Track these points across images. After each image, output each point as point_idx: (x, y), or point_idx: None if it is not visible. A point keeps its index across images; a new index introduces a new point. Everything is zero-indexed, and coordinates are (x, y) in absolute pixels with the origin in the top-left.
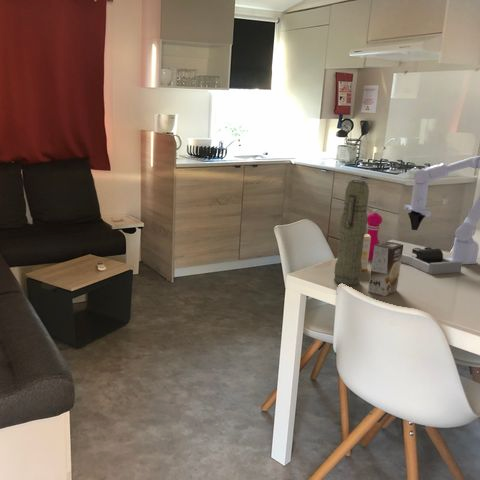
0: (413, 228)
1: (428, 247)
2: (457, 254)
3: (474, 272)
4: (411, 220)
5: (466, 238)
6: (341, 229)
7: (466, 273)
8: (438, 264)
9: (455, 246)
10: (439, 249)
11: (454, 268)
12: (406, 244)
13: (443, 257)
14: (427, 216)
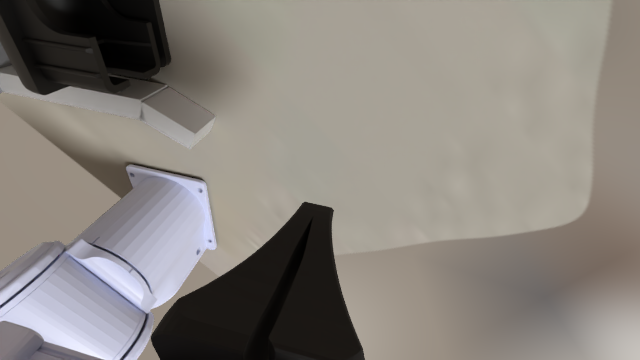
0: (299, 209)
1: (98, 73)
2: (131, 197)
3: (41, 132)
4: (311, 270)
5: (18, 259)
6: None
7: None
8: None
9: (122, 223)
10: (26, 84)
11: None
12: (477, 226)
13: (95, 107)
14: (5, 327)
